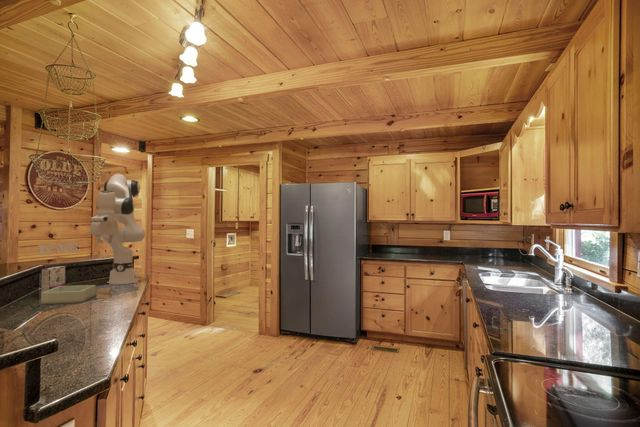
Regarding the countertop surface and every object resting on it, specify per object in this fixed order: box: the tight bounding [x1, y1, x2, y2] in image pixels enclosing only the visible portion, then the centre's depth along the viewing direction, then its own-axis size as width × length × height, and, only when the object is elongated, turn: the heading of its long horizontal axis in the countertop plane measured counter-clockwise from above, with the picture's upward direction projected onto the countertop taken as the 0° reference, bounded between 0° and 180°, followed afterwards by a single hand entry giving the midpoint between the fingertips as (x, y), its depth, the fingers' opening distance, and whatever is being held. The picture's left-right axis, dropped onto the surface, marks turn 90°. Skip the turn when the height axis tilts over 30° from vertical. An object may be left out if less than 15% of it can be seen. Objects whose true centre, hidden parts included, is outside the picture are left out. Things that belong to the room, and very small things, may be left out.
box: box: [40, 284, 97, 306], centre depth 178 cm, size 18×18×6 cm
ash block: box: [95, 287, 113, 300], centre depth 183 cm, size 4×6×5 cm
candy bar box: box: [40, 265, 67, 294], centre depth 185 cm, size 11×5×16 cm, turn 179°
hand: (105, 243), depth 187 cm, fingers open, 8 cm apart
